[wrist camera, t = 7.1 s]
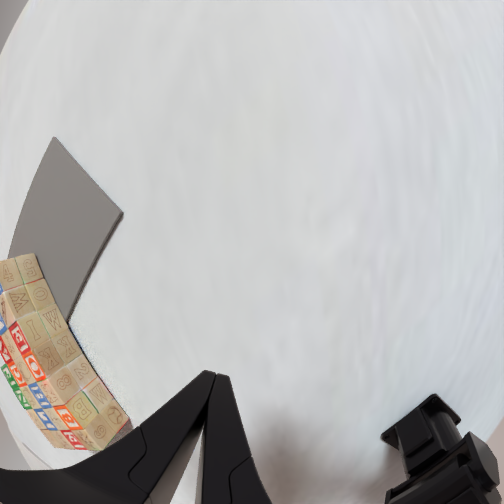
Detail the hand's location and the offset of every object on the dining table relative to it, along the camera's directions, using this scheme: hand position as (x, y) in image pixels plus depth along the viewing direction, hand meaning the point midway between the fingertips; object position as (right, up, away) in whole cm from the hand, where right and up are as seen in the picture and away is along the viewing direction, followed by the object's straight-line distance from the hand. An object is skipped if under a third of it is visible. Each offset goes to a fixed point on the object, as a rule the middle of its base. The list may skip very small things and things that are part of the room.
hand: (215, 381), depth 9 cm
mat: (-22, +3, +16) cm, 27 cm away
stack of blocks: (-18, -5, +13) cm, 23 cm away
